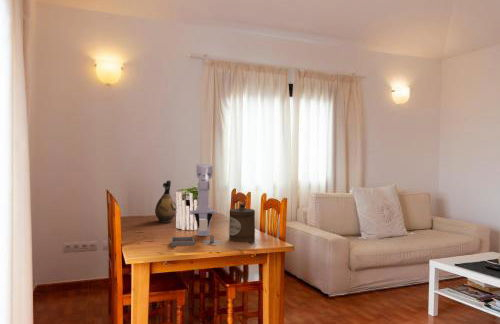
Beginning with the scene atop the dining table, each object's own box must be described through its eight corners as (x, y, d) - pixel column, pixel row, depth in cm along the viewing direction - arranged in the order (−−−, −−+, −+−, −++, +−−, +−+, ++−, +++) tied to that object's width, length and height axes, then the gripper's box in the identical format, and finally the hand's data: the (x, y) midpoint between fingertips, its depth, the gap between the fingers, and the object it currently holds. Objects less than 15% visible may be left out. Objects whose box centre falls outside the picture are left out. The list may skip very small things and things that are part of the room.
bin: (171, 242, 223) (171, 237, 223) (193, 242, 225) (193, 236, 225) (171, 247, 211) (171, 242, 211) (194, 247, 213) (194, 241, 213)
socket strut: (199, 231, 217) (199, 220, 217) (198, 229, 221) (198, 218, 221) (207, 230, 218) (207, 219, 218) (206, 229, 222) (206, 218, 222)
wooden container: (225, 239, 233) (226, 202, 233) (248, 237, 240) (249, 201, 239) (234, 245, 220) (235, 205, 219) (259, 243, 226) (259, 204, 226)
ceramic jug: (174, 223, 283) (174, 181, 283) (152, 223, 283) (153, 181, 283) (178, 219, 300) (179, 180, 300) (158, 219, 300) (158, 179, 300)
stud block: (202, 242, 225) (202, 232, 225) (219, 241, 227) (219, 232, 227) (203, 247, 214) (203, 237, 213) (222, 246, 215) (222, 236, 215)
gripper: (190, 203, 214) (190, 228, 214) (217, 203, 217) (216, 228, 217) (189, 202, 221) (189, 226, 221) (215, 201, 224) (215, 225, 224)
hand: (203, 227), depth 220 cm, fingers closed on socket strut, 4 cm apart
